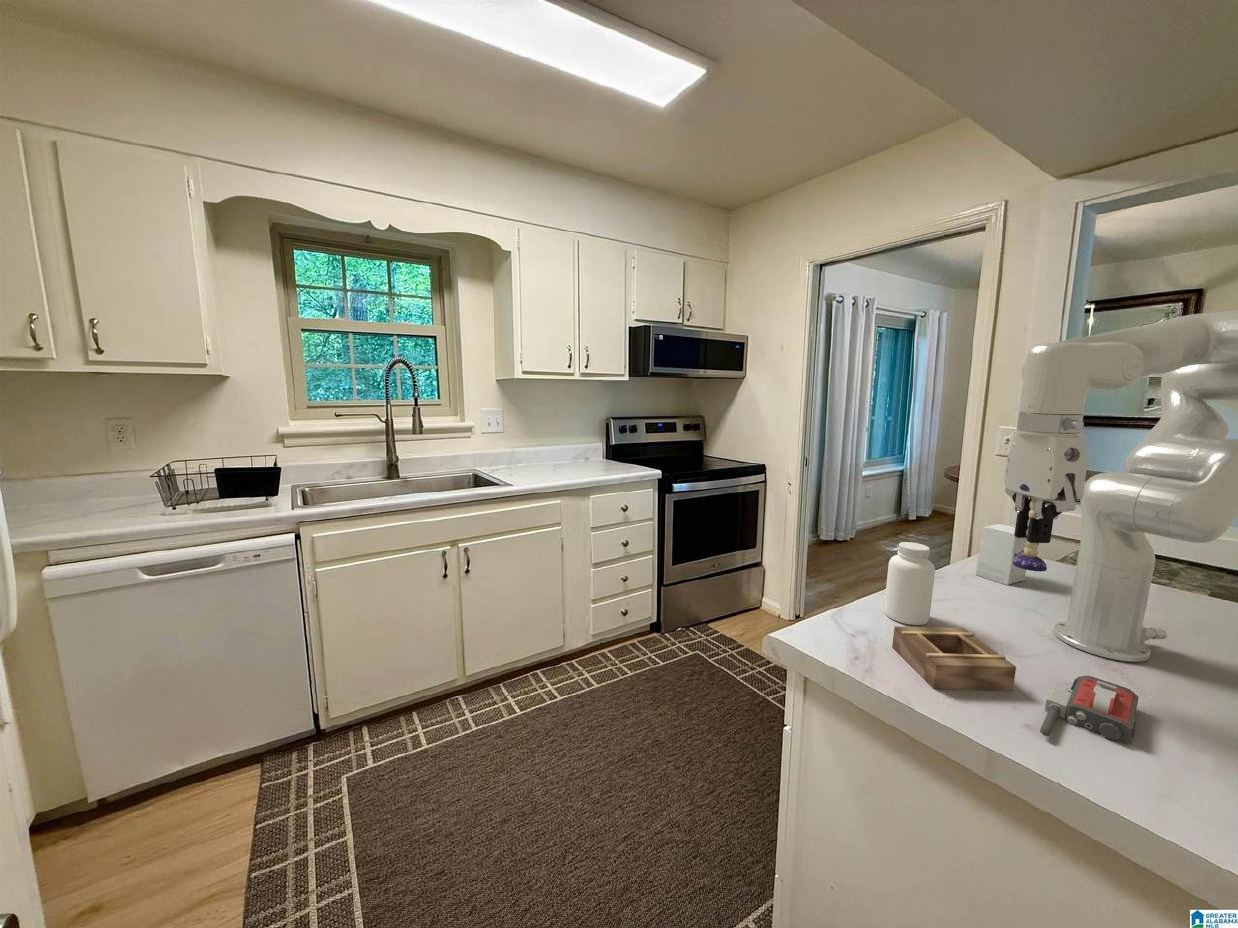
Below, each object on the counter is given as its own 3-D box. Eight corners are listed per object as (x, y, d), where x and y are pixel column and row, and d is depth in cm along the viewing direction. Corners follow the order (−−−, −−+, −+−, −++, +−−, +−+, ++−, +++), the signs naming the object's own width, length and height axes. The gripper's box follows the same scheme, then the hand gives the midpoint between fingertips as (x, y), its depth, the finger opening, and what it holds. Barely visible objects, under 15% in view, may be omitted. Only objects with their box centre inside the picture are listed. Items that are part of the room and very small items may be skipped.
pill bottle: (925, 612, 101) (934, 542, 98) (931, 630, 93) (941, 555, 91) (882, 605, 104) (889, 537, 102) (884, 621, 97) (892, 548, 94)
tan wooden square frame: (960, 648, 87) (963, 626, 86) (1012, 690, 75) (1016, 664, 74) (892, 647, 87) (894, 624, 86) (933, 688, 75) (936, 662, 75)
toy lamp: (1055, 573, 76) (1068, 467, 74) (1021, 571, 77) (1032, 466, 75) (1036, 563, 81) (1047, 463, 79) (1004, 561, 82) (1014, 462, 79)
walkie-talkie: (1058, 681, 78) (1032, 738, 65) (1063, 655, 78) (1037, 708, 65) (1138, 708, 72) (1125, 778, 59) (1143, 681, 71) (1132, 745, 58)
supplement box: (1008, 586, 115) (1015, 534, 113) (974, 574, 122) (981, 525, 120) (1025, 581, 118) (1033, 530, 116) (992, 570, 125) (999, 522, 123)
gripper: (1124, 430, 67) (1102, 557, 70) (1031, 421, 83) (1016, 525, 86) (1068, 430, 68) (1049, 557, 71) (986, 421, 83) (973, 525, 86)
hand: (1031, 539), depth 78 cm, fingers closed on toy lamp
